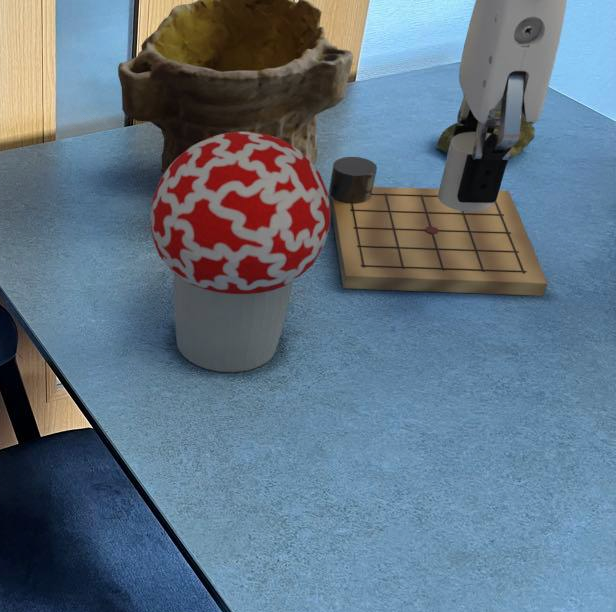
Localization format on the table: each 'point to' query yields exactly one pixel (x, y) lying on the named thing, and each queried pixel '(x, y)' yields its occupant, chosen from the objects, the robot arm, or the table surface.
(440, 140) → the green rock
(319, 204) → the decorative object
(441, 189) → the beige cylinder
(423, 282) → the board
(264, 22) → the ceramic vessel
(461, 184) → the robot arm
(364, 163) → the black stone
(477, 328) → the table surface
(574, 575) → the table surface
